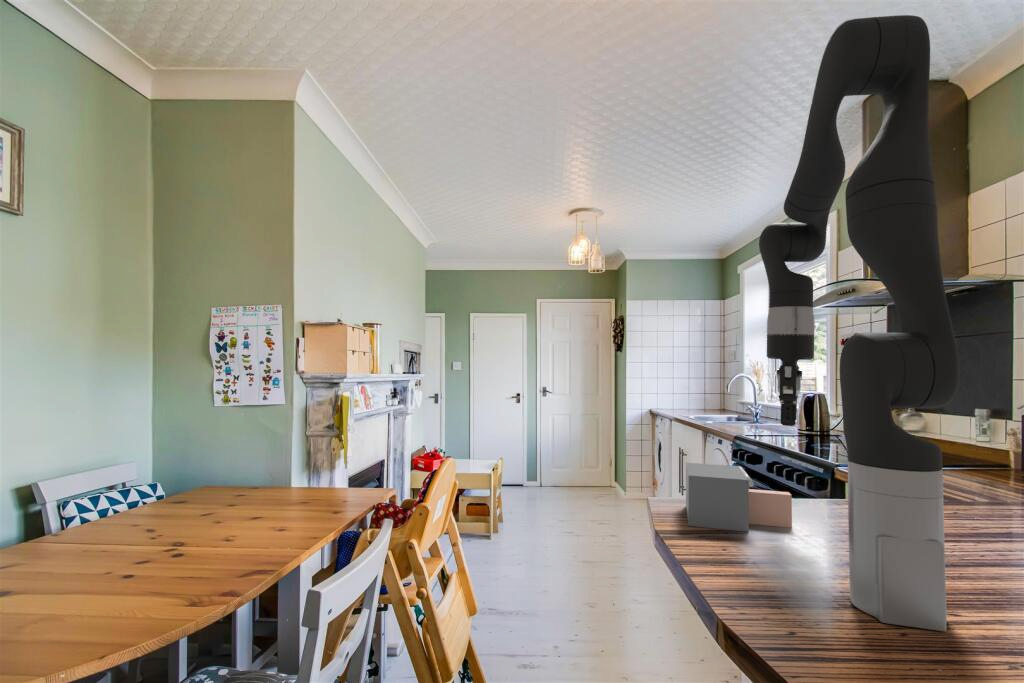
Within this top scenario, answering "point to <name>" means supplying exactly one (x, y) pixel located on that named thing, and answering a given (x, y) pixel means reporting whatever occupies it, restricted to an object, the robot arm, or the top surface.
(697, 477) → the grey bevelled box
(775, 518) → the tan rectangular block
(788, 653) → the top surface
